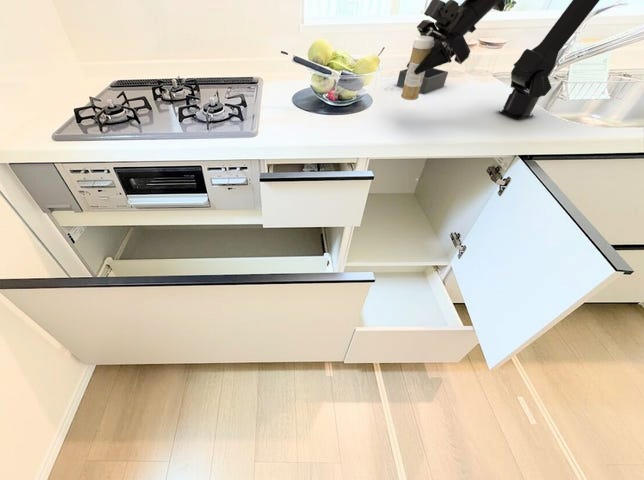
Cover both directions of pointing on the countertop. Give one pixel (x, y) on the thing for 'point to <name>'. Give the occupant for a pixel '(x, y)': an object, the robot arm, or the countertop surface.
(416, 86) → the sprinkles bottle
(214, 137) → the countertop surface
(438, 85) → the dark grey square tray
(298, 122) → the countertop surface
